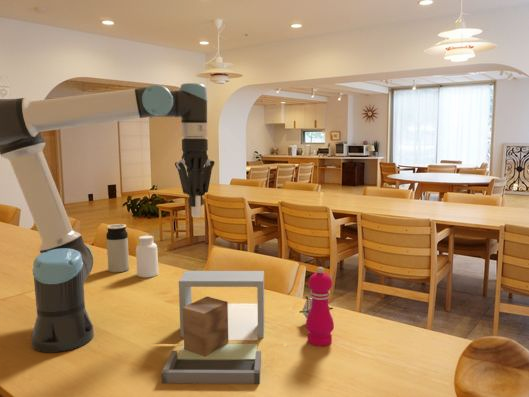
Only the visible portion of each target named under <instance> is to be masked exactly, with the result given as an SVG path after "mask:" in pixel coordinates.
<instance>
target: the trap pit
mask: <svg viewBox="0 0 529 397" xmlns="http://www.w3.org/2000/svg"><path fill="white" fill-rule="evenodd" d="M177 358H178V350H171V352H170V354H169V356H168V358H167V360H166V362H165V364H164V367H163V369H162V371H161V384H225V385H226V384H238V385H239V384H241V385H242V384H243V385H244V384H247V385H249V384H250V385H251V384H254V385H258V384H259V385H260V383H261V382H260V380H261V370H262V369H261V366H262V351H261V350H257V351H256V356H255V360H177Z"/></svg>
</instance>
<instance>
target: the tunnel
mask: <svg viewBox="0 0 529 397" xmlns="http://www.w3.org/2000/svg"><path fill="white" fill-rule="evenodd" d="M192 287H193V288H194V287H195V288H198V287H199V288H200V287H201V288H204V287H205V288H208V287H209V288H210V287H211V288H212V287H214V288H247V287H248V288H252V287H253V288H256V287H257V291H256V292H257V296H256V297H257V299H256V300H257V303H232V302H231V303H228V341H258V339H259V338H260V339H261V338H263V339H264V335H265V271H264V270H184V273H183V274H182V275H181V277H180V279H178V297H179V299H178V300H179V305H178V306H179V324H180V325H179V326H180V327H179V330H180V335H179V336H180V338H184V331H183V307H185V306H187V305H189V304H191V303H193V302H192V300H193V298H192Z"/></svg>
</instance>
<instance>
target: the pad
mask: <svg viewBox="0 0 529 397" xmlns="http://www.w3.org/2000/svg"><path fill="white" fill-rule="evenodd" d="M256 351H258V343H227V344H225V345H224V346H222V347H220V348H219V349H217V350H216V351H214V352H212V353H211V354H209V355H208V356H206V357H204V356H202V355H199V354H196V353H193V352H190V351H187V350H185V349H184V343H183V344H182V347H181V349H180V351H179V354H177V360H255V356H256Z"/></svg>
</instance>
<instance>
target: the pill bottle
mask: <svg viewBox="0 0 529 397" xmlns="http://www.w3.org/2000/svg"><path fill="white" fill-rule="evenodd" d="M135 247H136V248H135V258H136V272H137V273H136V275H137V276H138V278H139V277H140V278H142V279H143V278H146V279H148V278H153V277H157V276H158V274H159V259H158V258H159V257H158V245H157V244H156V243H155V242H154V236H152V235H142V236H139V237H138V244H137V245H136V246H135Z"/></svg>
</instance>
